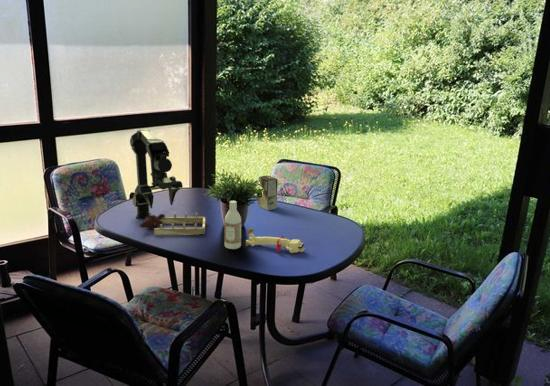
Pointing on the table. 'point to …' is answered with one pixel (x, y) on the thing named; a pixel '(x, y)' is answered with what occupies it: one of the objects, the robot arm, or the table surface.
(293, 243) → the yellow toy animal
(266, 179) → the coffee box
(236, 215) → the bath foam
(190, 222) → the dish rack
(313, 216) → the table surface
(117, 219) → the table surface
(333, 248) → the table surface
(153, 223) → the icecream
